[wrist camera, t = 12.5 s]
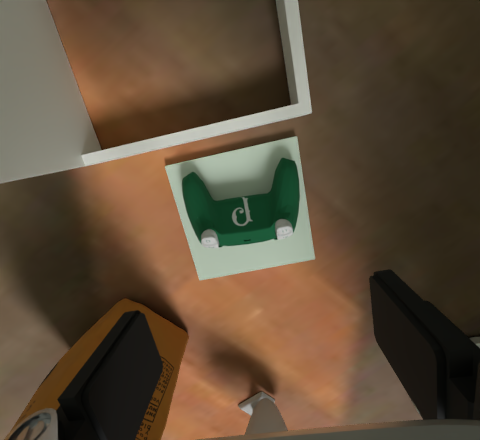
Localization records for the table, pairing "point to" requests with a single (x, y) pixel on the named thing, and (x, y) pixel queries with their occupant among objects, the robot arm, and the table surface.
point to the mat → (237, 185)
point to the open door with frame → (72, 105)
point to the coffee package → (163, 331)
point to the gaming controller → (244, 211)
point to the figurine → (262, 415)
